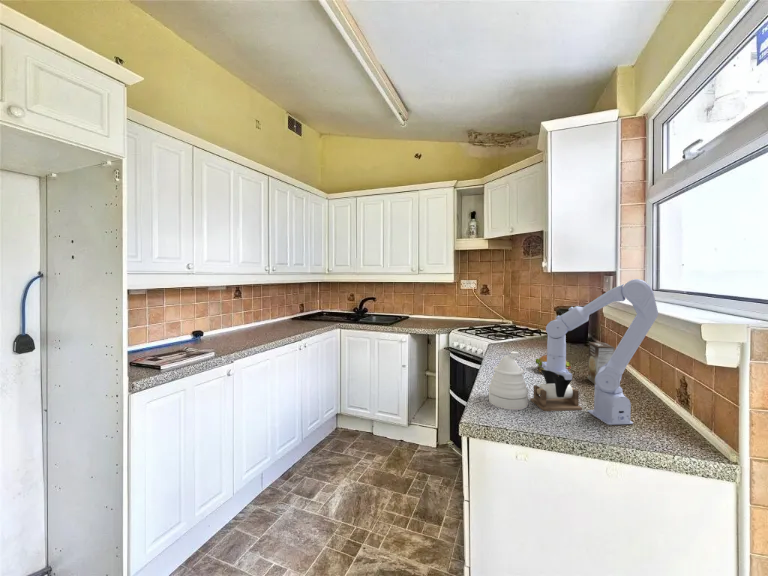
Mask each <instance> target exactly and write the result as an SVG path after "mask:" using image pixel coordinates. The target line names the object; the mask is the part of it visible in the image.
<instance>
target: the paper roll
mask: <svg viewBox="0 0 768 576" xmlns="http://www.w3.org/2000/svg"><path fill="white" fill-rule="evenodd" d="M538 386H539V389H537V393H538V395H539V396H540V391H541V390H545V391H546V399H565V398H572V396H573V389H575V388H574V387H572V386H571V384H570V383H569V385H568V387H567V389H566V392H565V395H564V397H557V395H556V387H555V383H554V384H546V383H540V385H538Z"/></svg>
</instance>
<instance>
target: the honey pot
mask: <svg viewBox="0 0 768 576" xmlns="http://www.w3.org/2000/svg"><path fill="white" fill-rule="evenodd" d="M518 356H519V352H518V351H510V354H509V355H505V356H503V357H502V358H501V360H500V361H499V363H498V364H497V365H496V366H495V367H493V369H494V374H493V375H492V376H491V378H492V379H491V380H490V384H489V385H488V387H489V388H488V402H489V403H490V404H492V405H493V406H494V405H495V406H494V407H497V408H500V407H501V408H500V409H503V408H504V409H505V410H509V409H510V410H511V411H514V410H515V411H517V410H524V409H526V408H527V407H528V405H529V389H528V387H527V384H526V379H525V378H524V374H525V369H523V368H522V367H520V366H519V364H518V362H517V361H516V358H518ZM510 410H509V411H510Z"/></svg>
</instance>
